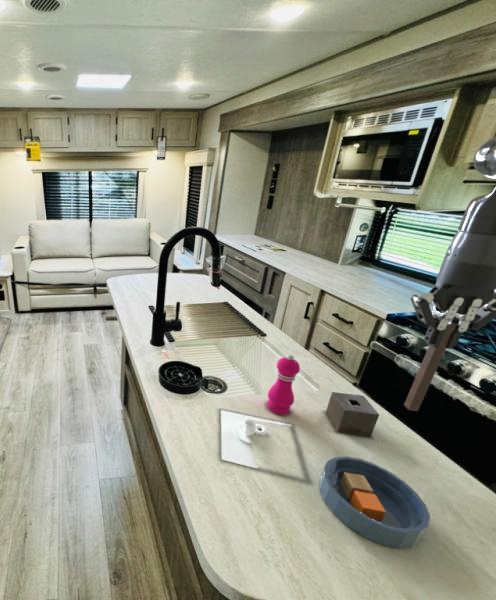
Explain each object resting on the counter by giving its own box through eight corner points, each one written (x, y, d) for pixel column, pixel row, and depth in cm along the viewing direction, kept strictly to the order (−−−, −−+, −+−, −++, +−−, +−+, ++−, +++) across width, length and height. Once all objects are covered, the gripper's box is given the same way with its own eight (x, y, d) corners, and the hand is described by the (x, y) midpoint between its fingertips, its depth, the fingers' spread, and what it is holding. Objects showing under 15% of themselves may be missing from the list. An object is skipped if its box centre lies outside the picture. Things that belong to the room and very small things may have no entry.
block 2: (369, 506, 69) (375, 494, 68) (380, 524, 66) (386, 512, 64) (349, 502, 70) (354, 490, 69) (358, 520, 67) (363, 507, 65)
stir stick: (412, 406, 66) (450, 321, 59) (417, 411, 65) (456, 324, 57) (403, 404, 66) (439, 320, 59) (408, 409, 65) (446, 324, 58)
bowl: (388, 481, 76) (395, 464, 74) (442, 561, 60) (454, 542, 58) (307, 466, 80) (312, 450, 78) (338, 538, 64) (345, 520, 62)
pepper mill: (268, 414, 98) (281, 359, 91) (263, 399, 105) (274, 347, 97) (294, 417, 96) (309, 362, 89) (286, 402, 103) (300, 350, 96)
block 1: (358, 487, 74) (363, 475, 72) (368, 503, 70) (373, 491, 69) (339, 483, 75) (344, 471, 73) (347, 499, 71) (352, 487, 70)
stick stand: (355, 416, 96) (363, 395, 93) (370, 436, 89) (379, 414, 86) (325, 412, 98) (331, 391, 95) (337, 431, 91) (344, 410, 88)
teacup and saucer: (264, 428, 92) (267, 417, 91) (268, 449, 86) (271, 437, 84) (233, 421, 95) (234, 411, 94) (234, 441, 88) (236, 429, 87)
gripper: (443, 261, 52) (407, 351, 58) (552, 266, 49) (501, 360, 55) (414, 252, 59) (384, 333, 65) (507, 255, 55) (467, 340, 62)
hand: (438, 345), depth 60 cm, fingers closed on stir stick, 1 cm apart
